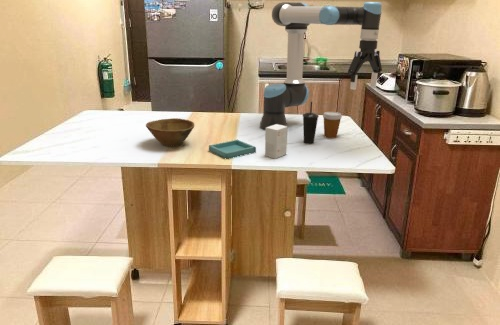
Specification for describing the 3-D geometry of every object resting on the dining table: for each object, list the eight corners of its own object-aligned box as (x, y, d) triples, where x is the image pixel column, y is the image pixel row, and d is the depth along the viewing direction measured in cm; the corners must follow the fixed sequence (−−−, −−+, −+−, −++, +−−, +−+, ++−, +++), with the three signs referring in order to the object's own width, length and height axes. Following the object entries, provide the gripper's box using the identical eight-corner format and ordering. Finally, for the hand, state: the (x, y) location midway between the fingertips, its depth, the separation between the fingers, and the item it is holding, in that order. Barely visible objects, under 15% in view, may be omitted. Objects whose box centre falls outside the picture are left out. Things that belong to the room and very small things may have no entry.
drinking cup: (317, 141, 201) (320, 101, 195) (315, 145, 195) (318, 104, 188) (302, 139, 204) (305, 100, 197) (299, 143, 197) (301, 102, 190)
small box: (275, 151, 185) (276, 123, 181) (286, 154, 181) (288, 126, 177) (264, 155, 179) (265, 127, 175) (275, 159, 176) (277, 129, 171)
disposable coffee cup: (339, 139, 205) (342, 116, 200) (320, 138, 206) (322, 115, 202) (339, 134, 213) (342, 112, 209) (321, 133, 215) (323, 111, 211)
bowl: (155, 154, 179) (153, 132, 176) (142, 140, 198) (141, 120, 195) (201, 147, 189) (201, 127, 185) (185, 135, 208) (184, 116, 204)
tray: (208, 150, 184) (208, 145, 184) (237, 144, 194) (237, 139, 193) (226, 159, 174) (226, 153, 173) (255, 152, 183) (255, 146, 183)
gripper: (356, 40, 169) (350, 91, 176) (393, 39, 182) (387, 87, 189) (342, 39, 174) (338, 89, 182) (380, 38, 188) (374, 84, 195)
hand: (363, 88), depth 186 cm, fingers open, 13 cm apart
